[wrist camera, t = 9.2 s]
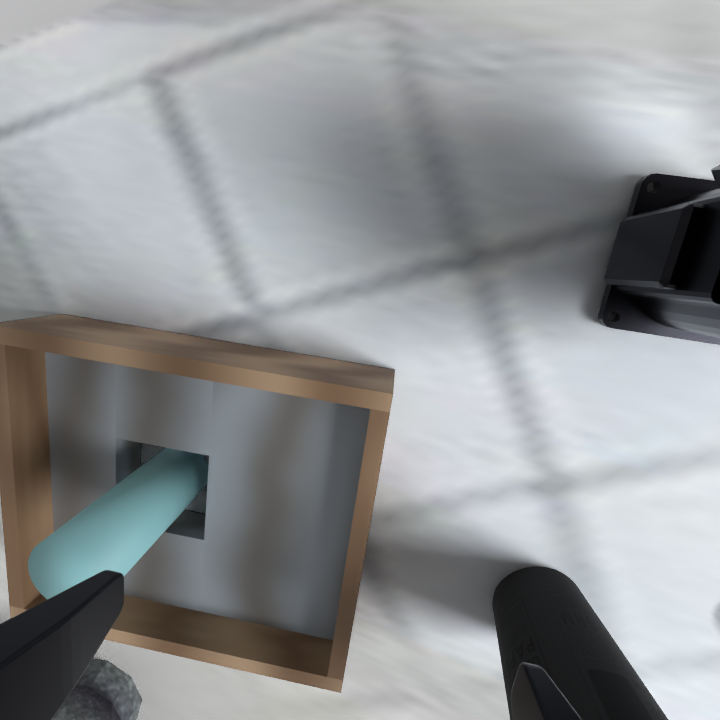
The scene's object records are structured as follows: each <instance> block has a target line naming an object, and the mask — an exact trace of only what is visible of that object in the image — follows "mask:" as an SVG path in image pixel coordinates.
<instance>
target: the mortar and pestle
mask: <svg viewBox="0 0 720 720" xmlns="http://www.w3.org/2000/svg"><path fill="white" fill-rule="evenodd" d="M141 702H142V699H141V696H140V694H139V692H138V690H137V688H136V686H135V684H134V682H133V680H132V678H131V677H130V676H128V675H127V674H126V673H124V672H123V671H121V670H120V669H118V668H117V667H116V666H114V665H113V664H111V663H110V662H108V661H103V660H96V659H92V660H91V662H90V663H89V665H88V667H87V668H86V670H85V671H84V673H83V675H82V676H81V678H80V679H79V681H78V683H77V684H76V686H75V687H74V689H73V690H72V692H71V693H70V694H69V696H68V697H67V699H66V700H65V702H64V703H63V704H62V706H61V707H60V708H59V710H58V711H57V713H56V714H55V715H54V717H53V718H52V719H51V720H136V719H137V715H138V712H139V709H140V705H141Z"/></svg>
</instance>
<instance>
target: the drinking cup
mask: <svg viewBox="0 0 720 720" xmlns="http://www.w3.org/2000/svg"><path fill="white" fill-rule="evenodd" d="M493 611H494V617H495V624H496V630H497V637H498V643H499V650H500V656H501V663H502V669H503V676H504V682H505V688H506V695H507V701H508V708H509V714H510V720H513V716H512V708H511V690H512V687H513V683H514V680H515V677H516V674H517V671H518V668H519V665H520V664H521V663H522V662H525V663H530V664H534V665H538V666H540V667H542V668H543V669H544V670H545V671H546V673H547V674H548V675H549V677H550V678H551V679H552V681H553V682H554V683H555V685H556V686H557V687H558V689H559V690H560V691H561V693H562V694H563V695H564V697H565V698H566V699H567V700H568V702H569V703H570V704H571V706H572V707H573V708H574V710H575V711H576V712H577V714H578V715H579V716H580V718H581V719H582V720H668V719H667V717H666V716H665V714H664V713H663V711H662V710H661V708H660V707H659V705H658V704H657V703H656V701H655V700H654V698H653V697H652V695H651V694H650V692H649V691H648V689H647V688H646V686H645V685H644V684H643V682H642V681H641V679H640V678H639V676H638V675H637V673H636V672H635V670H634V669H633V667H632V666H631V664H630V663H629V662H628V660H627V659H626V657H625V656H624V654H623V653H622V651H621V650H620V648H619V647H618V645H617V644H616V643H615V641H614V640H613V638H612V637H611V635H610V634H609V632H608V631H607V629H606V628H605V626H604V625H603V624H602V622H601V621H600V619H599V618H598V616H597V615H596V613H595V612H594V610H593V609H592V607H591V606H590V605H589V603H588V602H587V600H586V599H585V597H584V596H583V594H582V593H581V591H580V590H579V588H578V587H577V586H576V584H575V583H574V582H573V581H572V580H571V579H570V578H569V577H567V576H566V575H564V574H562V573H560V572H558V571H556V570H553V569H549V568H542V567H532V568H526V569H522V570H519V571H516V572H514V573H512V574H510V575H509V576H507V577H506V578H505V579H504V580H503V581H502V582H501V583H500V584H499V586H498V587H497V589H496V591H495V593H494V597H493Z"/></svg>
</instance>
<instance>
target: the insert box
mask: <svg viewBox="0 0 720 720" xmlns="http://www.w3.org/2000/svg"><path fill="white" fill-rule="evenodd" d="M394 374H395V370H393V369H387V368H381V367H375V366H369V365H364V364H358V363H352V362H346V361H340V360H334V359H328V358H322V357H316V356H310V355H304V354H298V353H292V352H286V351H280V350H274V349H268V348H262V347H256V346H250V345H244V344H238V343H232V342H227V341H221V340H215V339H209V338H203V337H197V336H191V335H185V334H179V333H173V332H167V331H161V330H155V329H149V328H143V327H137V326H131V325H125V324H119V323H113V322H107V321H101V320H95V319H90V318H84V317H78V316H72V315H66V314H59V315H51V316H44V317H36V318H29V319H21V320H14V321H6V322H0V494H1V506H2V519H3V531H4V543H5V555H6V567H7V579H8V591H9V603H10V615H11V618H13V617H15V616H17V615H19V614H21V613H22V612H24V611H26V610H28V609H30V608H32V607H34V606H36V605H38V604H40V603H42V602H44V601H46V600H47V599H46V598H45V597H44V596H43V595H42V594H41V593H40V592H39V591H38V590H37V588H36V587H35V586H34V584H33V582H32V580H31V578H30V575H29V570H28V560H29V556H30V553H31V552H32V550H33V549H34V547H35V546H37V545H38V544H39V543H40V542H42V541H43V540H44V539H45V538H47V537H48V536H49V535H51V534H52V533H53V532H55V531H56V530H57V529H59V528H60V527H61V526H63V525H64V524H65V523H67V522H68V521H69V520H71V519H72V518H73V517H74V516H76V515H77V514H78V513H80V512H81V511H82V510H84V509H85V508H86V507H88V506H89V505H90V504H92V503H93V502H94V501H96V500H97V499H98V498H100V497H101V496H102V495H103V494H105V493H106V492H107V491H109V490H110V489H111V488H113V487H114V486H115V485H117V484H118V483H119V482H121V481H122V480H123V479H125V478H126V477H127V476H128V475H130V474H131V473H132V472H134V471H135V470H136V469H138V468H139V467H140V449H141V443H144V444H150V445H155V446H160V447H166V448H171V449H176V450H182V451H187V452H192V453H197V454H203V455H208V456H209V466H208V483H207V500H206V514H202V513H197V512H192V511H187V510H184V511H183V512H182V513H181V514H180V515H179V516H178V517H177V518H176V519H175V521H174V522H173V523H172V524H171V525H170V526H169V527H168V528H167V529H166V531H165V532H164V533H163V534H162V535H161V536H160V537H159V538H158V539H157V541H156V542H155V543H154V544H153V545H152V546H151V547H150V548H149V549H148V550H147V552H146V553H145V554H144V555H143V556H142V557H141V558H140V559H139V560H138V562H137V563H136V564H135V565H134V566H133V567H132V568H131V569H130V570H129V572H128V573H127V574H126V575H125V576H124V604H123V608H122V610H121V612H120V614H119V616H118V618H117V619H116V621H115V623H114V624H113V626H112V627H111V629H110V631H109V632H108V634H107V636H106V637H105V639H106V640H110V641H114V642H119V643H123V644H128V645H132V646H137V647H141V648H145V649H150V650H154V651H159V652H163V653H167V654H172V655H176V656H181V657H185V658H190V659H194V660H198V661H203V662H207V663H212V664H216V665H220V666H225V667H229V668H234V669H238V670H242V671H247V672H251V673H256V674H260V675H265V676H269V677H273V678H278V679H282V680H287V681H291V682H295V683H300V684H304V685H309V686H313V687H318V688H322V689H326V690H331V691H335V692H340V693H341V689H342V683H343V677H344V672H345V666H346V660H347V655H348V649H349V643H350V637H351V632H352V626H353V620H354V614H355V609H356V603H357V597H358V592H359V586H360V580H361V574H362V569H363V563H364V557H365V551H366V546H367V540H368V534H369V528H370V523H371V517H372V511H373V506H374V500H375V494H376V488H377V483H378V477H379V471H380V465H381V460H382V454H383V448H384V442H385V437H386V431H387V425H388V420H389V414H390V408H391V402H392V397H393V387H394Z"/></svg>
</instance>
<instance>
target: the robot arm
mask: <svg viewBox="0 0 720 720" xmlns="http://www.w3.org/2000/svg"><path fill="white" fill-rule="evenodd" d="M711 171H712V174H713V176H714V179H715V181H712V180H704V179H696V178H688V177H680V176H673V175H665V174H651V175H648V176H646V177H644V178H642V179H641V180H640V181H638V183H637V185H636V187H635V190H634V194H633V197H632V201H631V204H630V208H629V211H628V214H627V218H626V219H625V220H623V221H622V222H621V223H620V226H619V229H618V233H617V236H616V240H615V243H614V247H613V250H612V254H611V257H610V261H609V264H608V267H607V271H606V274H605V280H606V282H607V286H606V290H605V293H604V297H603V300H602V304H601V307H600V310H599V314H598V320H599V322H600V323H601V324H602V325H603V326H606V327H610V328H615V329H621V330H628V331H634V332H641V333H647V334H654V335H660V336H667V337H673V338H680V339H686V340H693V341H699V342H705V343H712V344H718V345H720V165H719V166H717V167H715V168H713V169H712V170H711ZM649 182H651V183H653V185H654V190H653V192H652V193H650V192H648V190H647V185H648V183H649ZM613 311H614V312H615V318H614V320H612V321H609V320H608V315H609V314H610V313H611V312H613ZM123 604H124V576H123V574H122V573H119V572H115V571H110V570H104V571H102V572H100V573H98V574H96V575H94V576H92V577H90V578H88V579H86V580H84V581H82V582H80V583H78V584H76V585H74V586H73V587H71V588H69V589H67V590H65V591H63V592H61V593H59V594H57V595H55V596H53V597H51V598H49V599H47V600H46V601H44V602H42V603H40V604H38V605H36V606H34V607H32V608H30V609H28V610H26V611H24V612H22V613H21V614H19V615H17V616H15V617H13V618H11V619H9V620H7V621H5V622H3V623H1V624H0V720H51V719H52V718H53V717H54V715H55V714H56V713H57V711H58V710H59V708H60V707H61V706H62V704H63V703H64V702H65V700H66V699H67V697H68V696H69V694H70V693H71V692H72V690H73V689H74V687H75V686H76V684H77V683H78V681H79V679H80V678H81V676H82V675H83V673H84V671H85V670H86V668H87V667H88V665H89V663H90V662H91V660H92V658H93V657H94V655H95V653H96V652H97V650H98V649H99V647H100V645H101V644H102V642H103V640H104V639H105V637H106V636H107V634H108V632H109V631H110V629H111V627H112V626H113V624H114V623H115V621H116V619H117V618H118V616H119V614H120V612H121V610H122V608H123ZM511 708H512V716H513V720H582V719H581V718H580V716H579V715H578V714H577V712H576V711H575V710H574V708H573V707H572V706H571V704H570V703H569V702H568V700H567V699H566V698H565V697H564V695H563V694H562V693H561V691H560V690H559V689H558V687H557V686H556V685H555V683H554V682H553V681H552V679H551V678H550V677H549V675H548V674H547V673H546V671H545V670H544V669H543V668H542V667H540V666H538V665H534V664H530V663H525V662H522V663H521V664H520V665H519V668H518V671H517V674H516V677H515V680H514V683H513V687H512V690H511Z"/></svg>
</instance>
